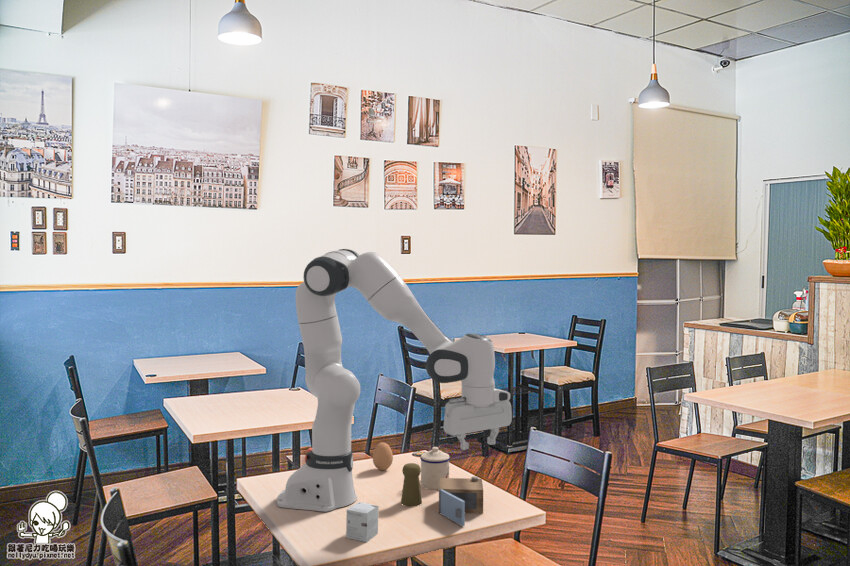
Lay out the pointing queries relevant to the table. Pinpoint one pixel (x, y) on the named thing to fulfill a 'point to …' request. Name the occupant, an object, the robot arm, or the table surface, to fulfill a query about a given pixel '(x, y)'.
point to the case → (465, 492)
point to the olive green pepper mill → (411, 485)
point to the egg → (382, 456)
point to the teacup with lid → (434, 468)
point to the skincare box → (362, 522)
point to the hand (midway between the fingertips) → (478, 446)
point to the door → (452, 507)
